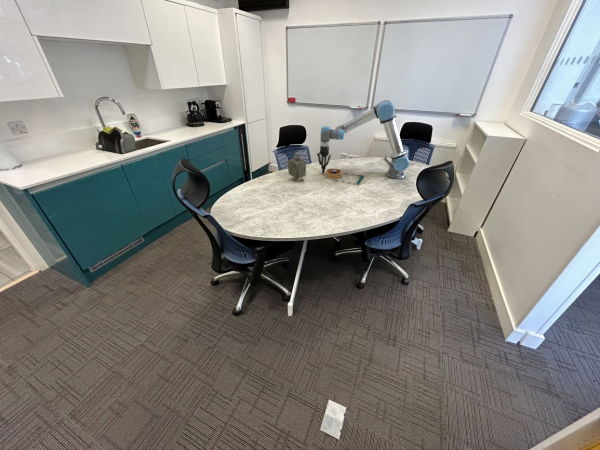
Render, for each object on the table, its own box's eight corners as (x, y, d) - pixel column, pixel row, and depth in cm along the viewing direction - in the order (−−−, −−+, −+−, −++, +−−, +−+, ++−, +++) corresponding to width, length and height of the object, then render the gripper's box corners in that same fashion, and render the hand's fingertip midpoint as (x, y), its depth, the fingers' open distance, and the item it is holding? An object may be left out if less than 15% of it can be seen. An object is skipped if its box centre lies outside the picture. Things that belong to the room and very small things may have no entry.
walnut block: (331, 174, 219) (331, 169, 217) (336, 174, 219) (336, 169, 216) (331, 176, 216) (331, 171, 213) (336, 176, 215) (336, 171, 213)
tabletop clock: (305, 181, 207) (306, 151, 193) (296, 184, 202) (296, 153, 189) (296, 176, 217) (296, 147, 203) (287, 178, 212) (286, 149, 199)
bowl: (328, 172, 225) (328, 167, 223) (343, 174, 220) (343, 169, 218) (323, 177, 215) (323, 172, 212) (338, 180, 210) (339, 175, 207)
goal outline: (340, 172, 225) (340, 172, 225) (363, 176, 217) (363, 175, 217) (333, 180, 208) (333, 180, 208) (358, 185, 201) (358, 184, 201)
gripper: (315, 146, 207) (315, 172, 219) (330, 147, 202) (328, 175, 215) (319, 144, 212) (318, 170, 225) (333, 145, 208) (331, 172, 221)
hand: (323, 172), depth 220 cm, fingers closed
